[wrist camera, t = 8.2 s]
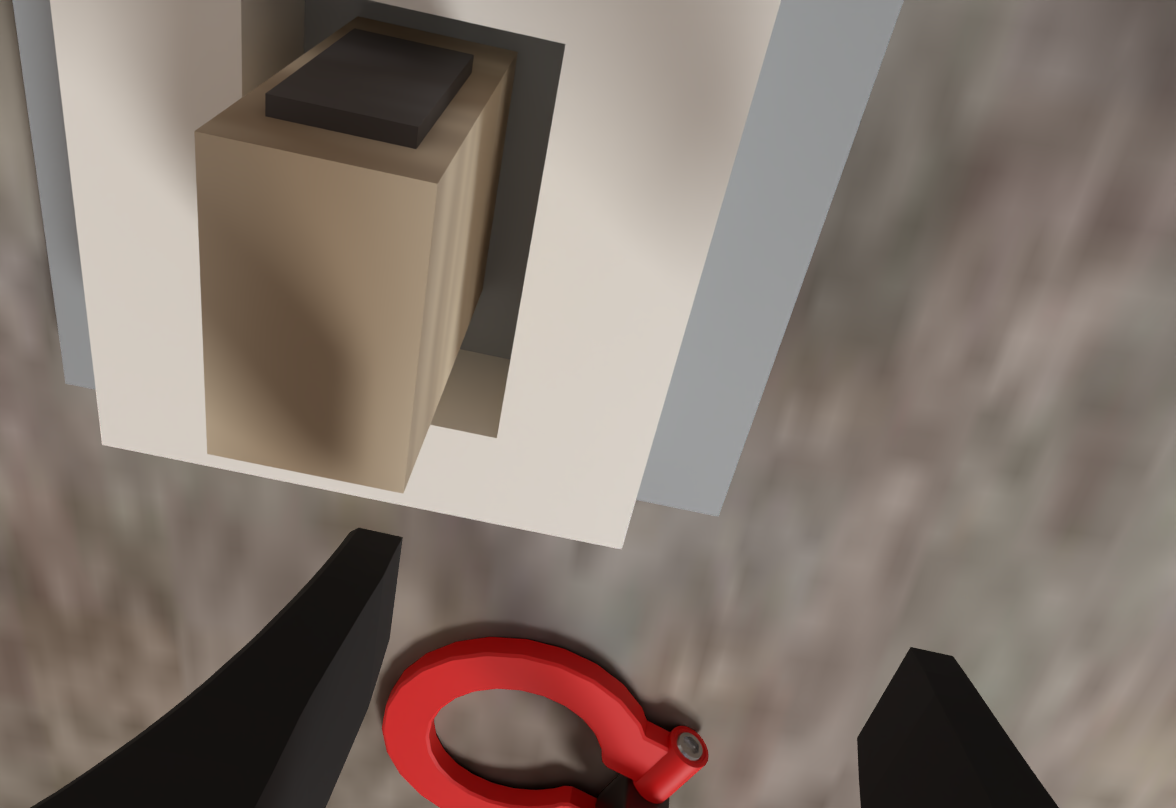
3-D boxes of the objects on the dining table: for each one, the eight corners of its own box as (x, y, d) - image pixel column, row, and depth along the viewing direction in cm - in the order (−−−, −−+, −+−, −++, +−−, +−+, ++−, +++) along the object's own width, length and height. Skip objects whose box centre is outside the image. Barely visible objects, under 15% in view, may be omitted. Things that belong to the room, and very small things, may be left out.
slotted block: (934, -129, 16) (1001, -109, 13) (716, 491, 24) (723, 605, 20) (1, -348, 15) (-185, -387, 12) (87, 362, 23) (-12, 458, 20)
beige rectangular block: (520, 35, 17) (440, 161, 11) (482, 289, 20) (403, 493, 14) (358, -1, 17) (193, 106, 11) (344, 260, 20) (207, 453, 14)
